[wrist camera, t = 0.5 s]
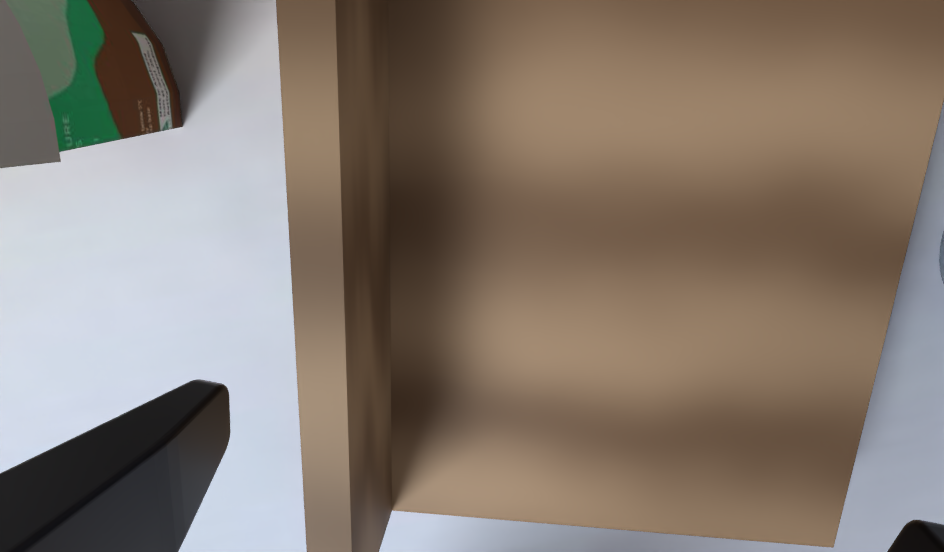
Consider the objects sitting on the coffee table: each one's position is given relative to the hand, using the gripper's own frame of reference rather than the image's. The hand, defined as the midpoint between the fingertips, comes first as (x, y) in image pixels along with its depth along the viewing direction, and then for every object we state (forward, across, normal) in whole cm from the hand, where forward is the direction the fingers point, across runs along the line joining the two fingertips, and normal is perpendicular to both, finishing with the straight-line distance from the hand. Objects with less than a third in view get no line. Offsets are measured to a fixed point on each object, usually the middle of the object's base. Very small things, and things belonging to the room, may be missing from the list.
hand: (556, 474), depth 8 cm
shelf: (+14, -2, +2) cm, 14 cm away
